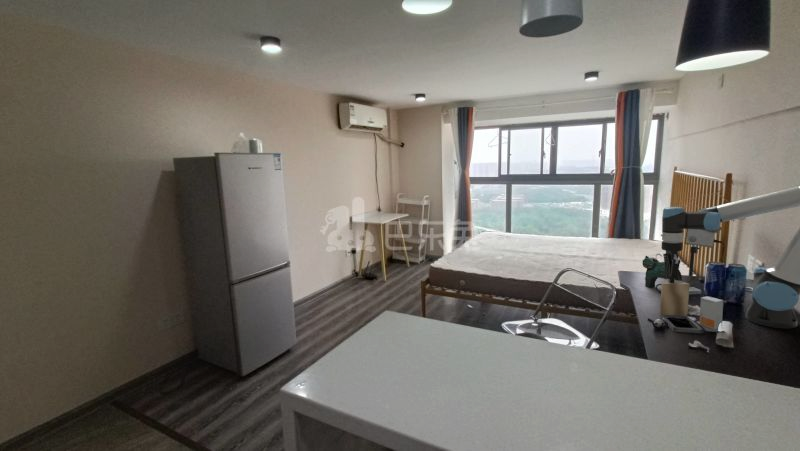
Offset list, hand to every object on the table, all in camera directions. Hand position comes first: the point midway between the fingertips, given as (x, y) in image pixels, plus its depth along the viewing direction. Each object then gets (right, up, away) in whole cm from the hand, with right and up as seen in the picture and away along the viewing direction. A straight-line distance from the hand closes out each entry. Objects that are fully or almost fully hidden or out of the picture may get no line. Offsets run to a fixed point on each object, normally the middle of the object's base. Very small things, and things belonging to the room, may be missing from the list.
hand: (670, 291), depth 161 cm
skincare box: (+6, -12, -14) cm, 19 cm away
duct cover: (-2, -3, -4) cm, 5 cm away
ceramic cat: (+22, -5, +34) cm, 41 cm away
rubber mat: (+6, -12, -14) cm, 19 cm away
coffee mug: (+14, -8, +17) cm, 23 cm away
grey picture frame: (-3, -12, -10) cm, 16 cm away
